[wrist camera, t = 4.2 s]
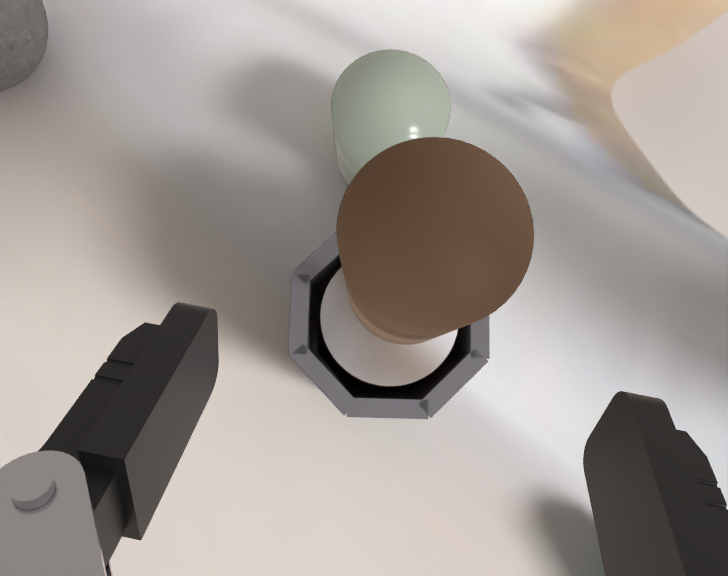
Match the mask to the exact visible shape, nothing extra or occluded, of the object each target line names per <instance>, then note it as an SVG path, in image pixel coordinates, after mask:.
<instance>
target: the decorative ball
mask: <svg viewBox="0 0 728 576" xmlns="http://www.w3.org/2000/svg"><path fill="white" fill-rule="evenodd" d="M47 37H48V23H47V17H46V13H45V9H44V5H43V3H42V0H0V91H1V90H5V89H8V88H10V87H12V86H14V85H16V84H18V83H20V82H21V81H23V80H24V79H25V78H27V77H28V76H29V75H30V74H31V73H32V72H33V71H34V69H35V68H36V67H37V66H38V64H39V62H40V60H41V59H42V56H43V54H44V51H45V48H46V43H47Z"/></svg>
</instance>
